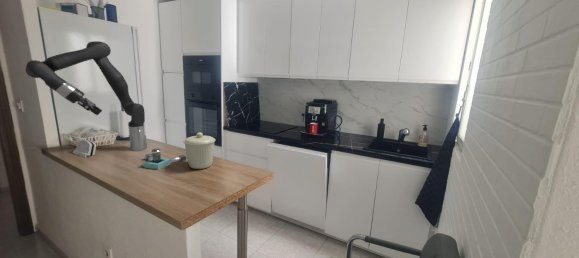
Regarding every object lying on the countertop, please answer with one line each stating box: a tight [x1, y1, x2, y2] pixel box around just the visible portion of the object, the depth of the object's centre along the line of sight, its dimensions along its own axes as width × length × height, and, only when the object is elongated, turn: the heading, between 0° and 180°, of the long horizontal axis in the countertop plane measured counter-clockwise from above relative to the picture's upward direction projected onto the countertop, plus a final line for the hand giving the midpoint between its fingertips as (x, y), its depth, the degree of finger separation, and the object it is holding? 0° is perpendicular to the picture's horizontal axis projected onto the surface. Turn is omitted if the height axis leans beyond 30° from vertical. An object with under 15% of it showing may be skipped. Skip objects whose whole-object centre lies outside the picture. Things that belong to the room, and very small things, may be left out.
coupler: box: [151, 148, 162, 163], centre depth 142 cm, size 5×5×10 cm
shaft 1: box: [144, 153, 153, 161], centre depth 150 cm, size 12×4×3 cm, turn 47°
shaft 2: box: [169, 154, 188, 164], centre depth 150 cm, size 12×4×3 cm, turn 137°
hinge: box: [72, 139, 97, 158], centre depth 157 cm, size 17×5×10 cm, turn 63°
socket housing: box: [143, 157, 172, 171], centre depth 143 cm, size 10×10×3 cm
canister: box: [182, 132, 216, 170], centre depth 143 cm, size 18×18×21 cm
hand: (99, 113), depth 136 cm, fingers open, 8 cm apart
